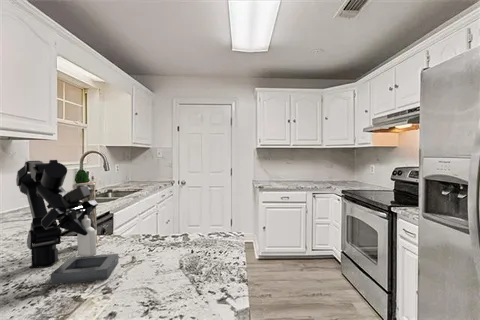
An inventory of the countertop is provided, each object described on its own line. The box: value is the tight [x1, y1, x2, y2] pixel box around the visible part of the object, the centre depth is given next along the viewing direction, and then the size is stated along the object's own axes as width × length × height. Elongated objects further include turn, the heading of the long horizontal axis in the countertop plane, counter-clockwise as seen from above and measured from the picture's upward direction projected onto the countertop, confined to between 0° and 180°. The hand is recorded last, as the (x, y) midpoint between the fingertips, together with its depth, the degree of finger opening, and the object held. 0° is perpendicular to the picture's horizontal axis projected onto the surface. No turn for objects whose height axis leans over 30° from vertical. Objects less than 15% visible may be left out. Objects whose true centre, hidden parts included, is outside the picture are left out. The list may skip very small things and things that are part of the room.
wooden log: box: [75, 182, 98, 244], centre depth 123 cm, size 7×7×25 cm
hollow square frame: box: [50, 253, 119, 286], centre depth 91 cm, size 14×14×3 cm
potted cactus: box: [70, 169, 90, 191], centre depth 216 cm, size 15×15×30 cm
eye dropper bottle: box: [76, 215, 97, 257], centre depth 91 cm, size 4×6×12 cm
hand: (90, 232), depth 91 cm, fingers closed on eye dropper bottle, 4 cm apart
